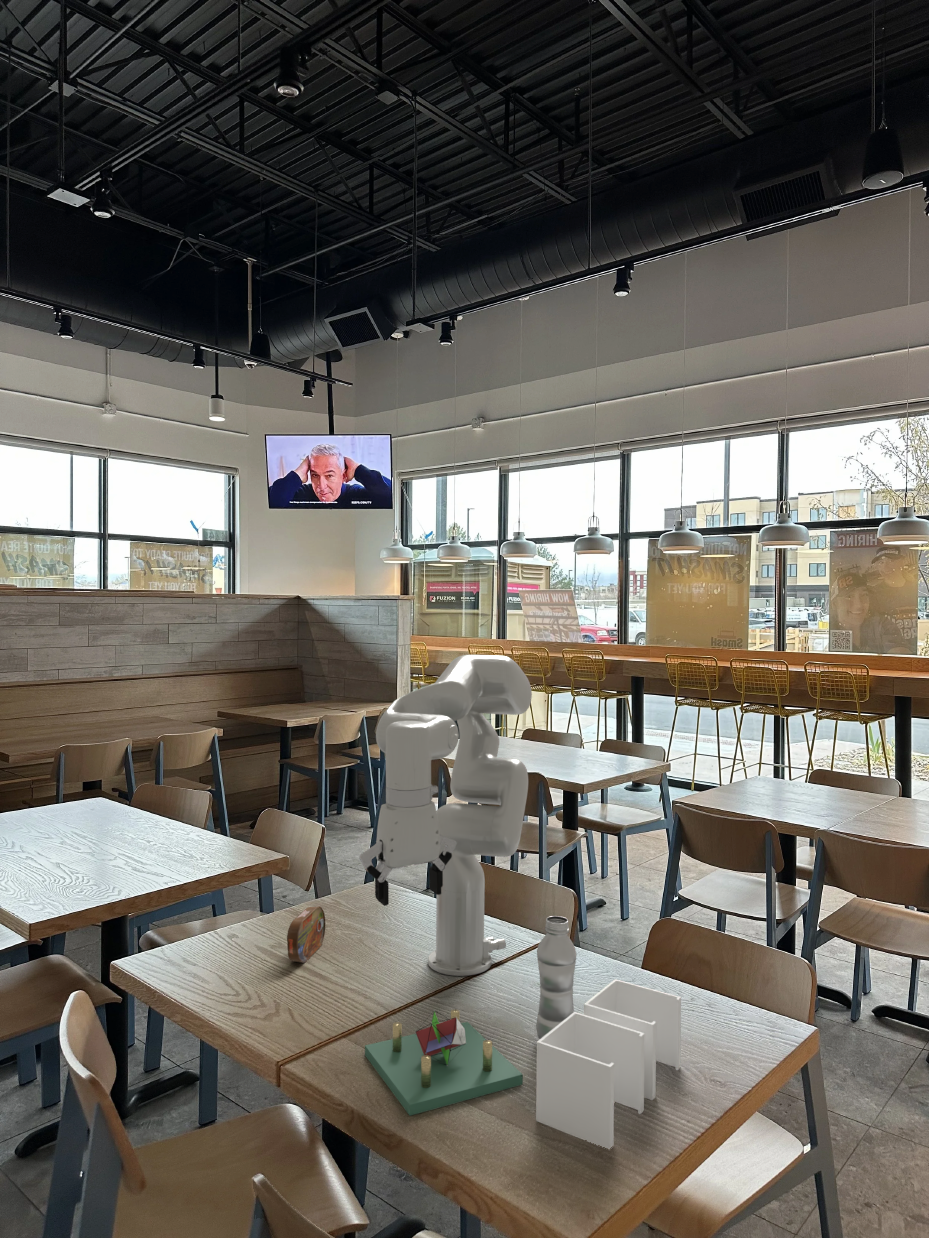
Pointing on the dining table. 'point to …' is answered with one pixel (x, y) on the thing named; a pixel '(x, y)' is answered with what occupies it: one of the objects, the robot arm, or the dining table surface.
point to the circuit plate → (441, 1072)
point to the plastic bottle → (555, 975)
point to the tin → (306, 934)
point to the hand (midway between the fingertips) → (409, 897)
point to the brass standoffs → (427, 1059)
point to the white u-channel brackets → (606, 1059)
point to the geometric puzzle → (441, 1037)
